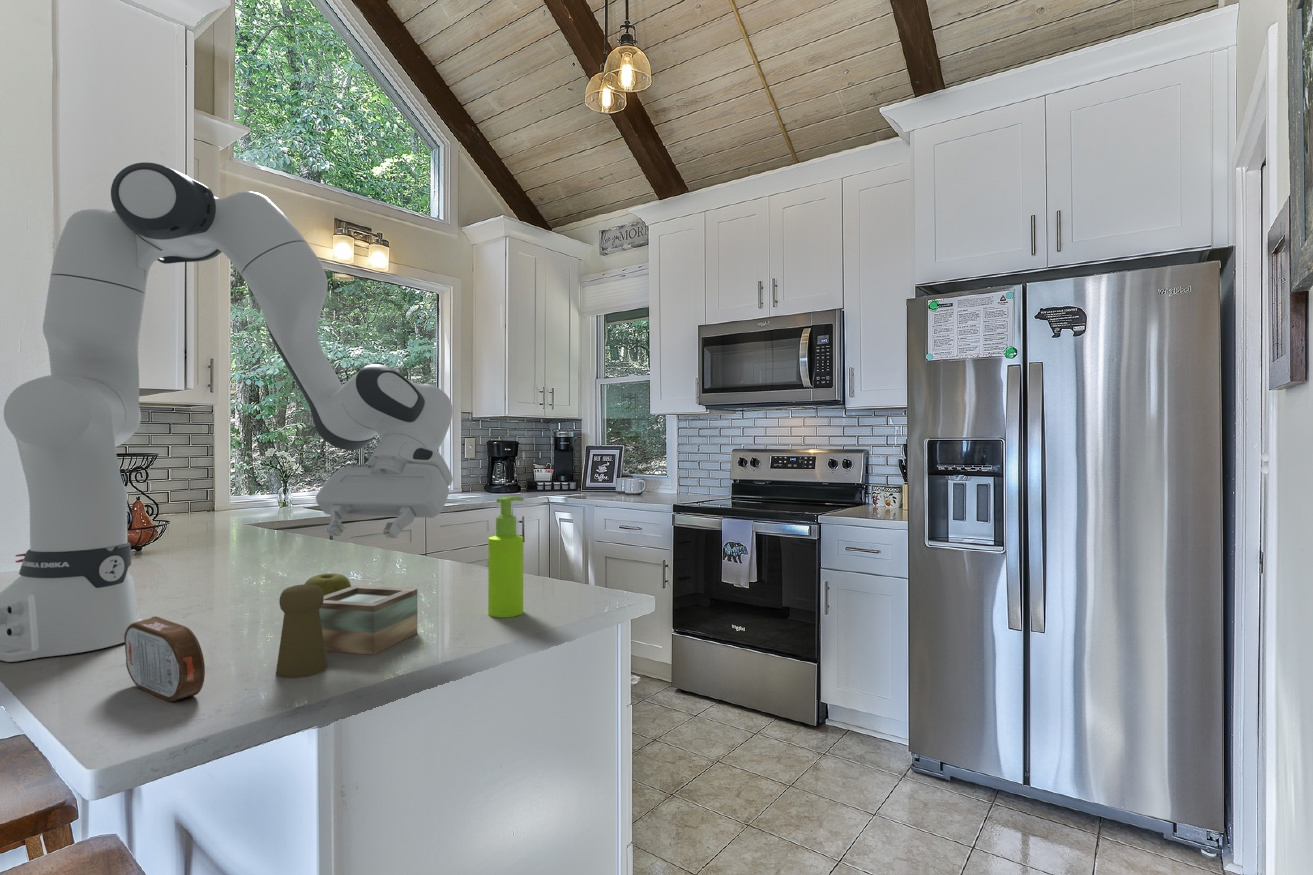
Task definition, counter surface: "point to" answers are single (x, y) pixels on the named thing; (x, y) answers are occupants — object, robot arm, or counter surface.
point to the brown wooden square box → (368, 618)
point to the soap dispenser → (505, 565)
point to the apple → (329, 582)
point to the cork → (301, 632)
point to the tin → (164, 658)
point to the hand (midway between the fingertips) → (360, 534)
